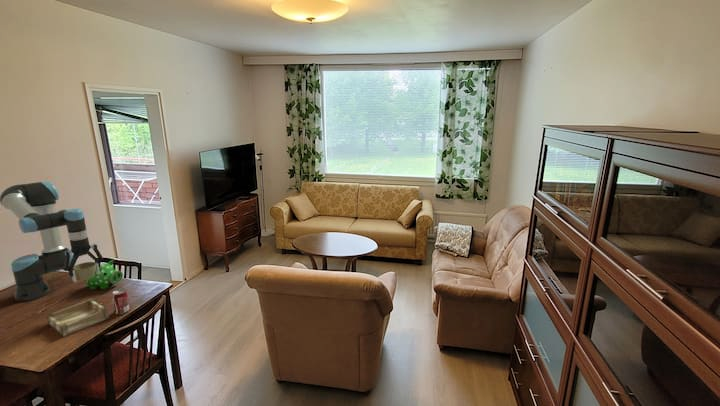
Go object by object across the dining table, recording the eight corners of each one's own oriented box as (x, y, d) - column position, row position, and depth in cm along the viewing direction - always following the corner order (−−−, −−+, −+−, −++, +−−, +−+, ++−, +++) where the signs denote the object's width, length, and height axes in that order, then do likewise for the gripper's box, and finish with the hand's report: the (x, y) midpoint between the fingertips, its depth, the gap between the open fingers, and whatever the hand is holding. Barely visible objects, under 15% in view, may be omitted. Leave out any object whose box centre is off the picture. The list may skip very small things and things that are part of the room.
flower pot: (85, 282, 178) (83, 270, 177) (69, 281, 180) (67, 268, 178) (103, 274, 188) (100, 262, 186) (87, 273, 190) (85, 261, 188)
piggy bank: (110, 292, 204) (106, 269, 201) (80, 291, 204) (75, 268, 201) (126, 281, 218) (122, 259, 215) (98, 280, 218) (94, 259, 215)
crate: (48, 324, 173) (46, 314, 171) (92, 307, 188) (90, 298, 187) (63, 336, 163) (61, 326, 162) (108, 317, 179) (107, 308, 178)
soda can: (132, 309, 187) (129, 289, 184) (120, 316, 180) (116, 295, 177) (123, 307, 189) (120, 287, 186) (111, 313, 182) (107, 293, 180)
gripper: (54, 246, 167) (64, 287, 172) (106, 233, 186) (113, 271, 191) (48, 243, 171) (57, 284, 176) (99, 231, 190) (106, 268, 195)
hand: (86, 277), depth 184 cm, fingers closed on flower pot, 10 cm apart
